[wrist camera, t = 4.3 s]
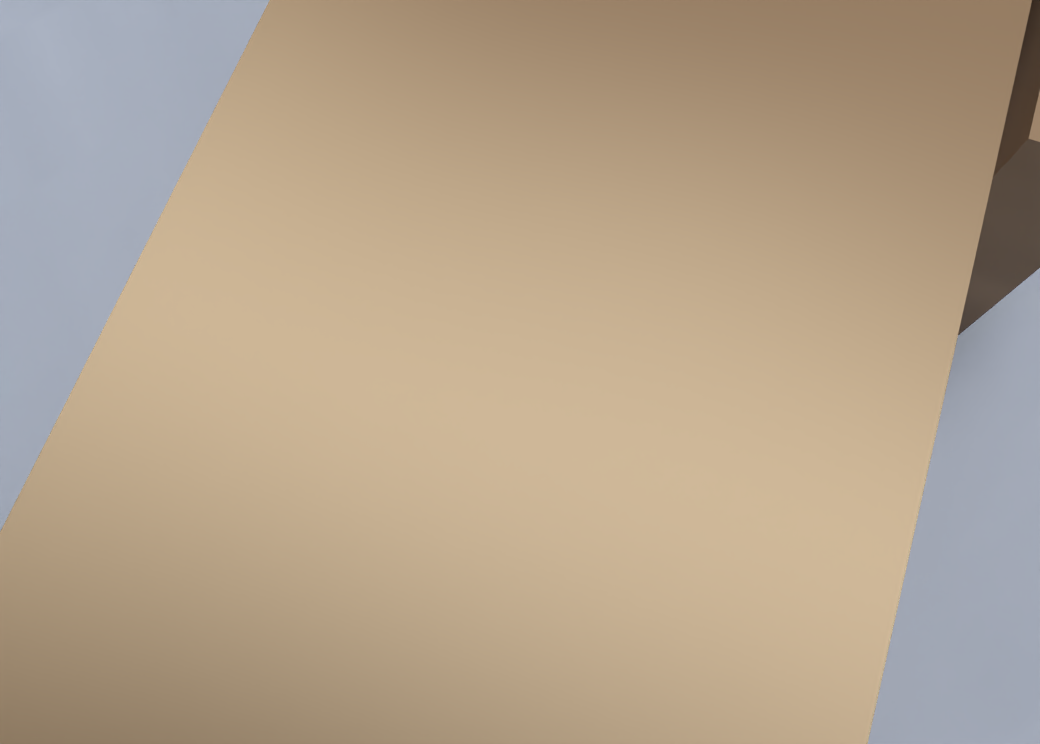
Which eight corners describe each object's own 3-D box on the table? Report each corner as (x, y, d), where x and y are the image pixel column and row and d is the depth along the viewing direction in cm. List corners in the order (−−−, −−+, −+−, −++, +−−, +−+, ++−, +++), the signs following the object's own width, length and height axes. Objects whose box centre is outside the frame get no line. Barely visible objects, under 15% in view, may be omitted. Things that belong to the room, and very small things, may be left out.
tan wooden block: (548, 995, 13) (615, 1884, 3) (264, 881, 13) (-427, 1370, 4) (781, 203, 16) (1142, -497, 7) (550, 133, 17) (580, -613, 7)
